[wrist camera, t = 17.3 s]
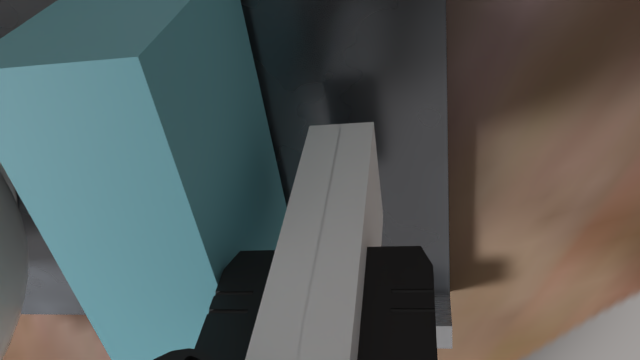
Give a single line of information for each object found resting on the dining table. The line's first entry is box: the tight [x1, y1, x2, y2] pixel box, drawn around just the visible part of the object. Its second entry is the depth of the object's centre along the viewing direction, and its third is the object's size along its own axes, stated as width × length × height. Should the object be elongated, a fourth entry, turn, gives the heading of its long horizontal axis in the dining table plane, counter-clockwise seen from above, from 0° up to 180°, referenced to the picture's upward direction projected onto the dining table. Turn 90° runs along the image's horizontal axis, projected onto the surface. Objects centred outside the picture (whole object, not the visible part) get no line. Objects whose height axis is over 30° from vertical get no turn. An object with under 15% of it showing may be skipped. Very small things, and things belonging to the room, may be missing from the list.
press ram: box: [0, 0, 287, 360], centre depth 13 cm, size 4×10×5 cm, turn 8°
